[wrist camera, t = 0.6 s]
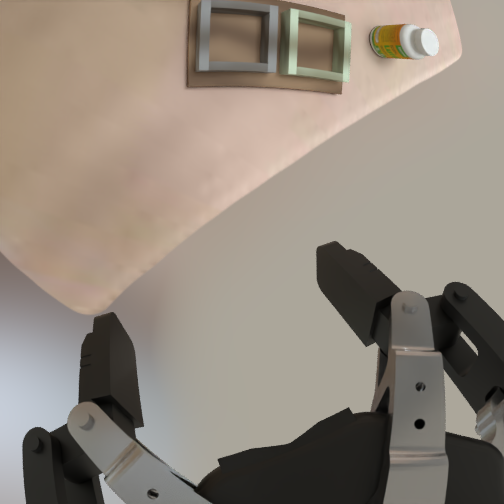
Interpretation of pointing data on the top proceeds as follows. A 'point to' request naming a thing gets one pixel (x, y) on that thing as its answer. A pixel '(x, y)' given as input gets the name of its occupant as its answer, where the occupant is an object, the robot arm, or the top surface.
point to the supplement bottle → (404, 41)
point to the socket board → (267, 45)
